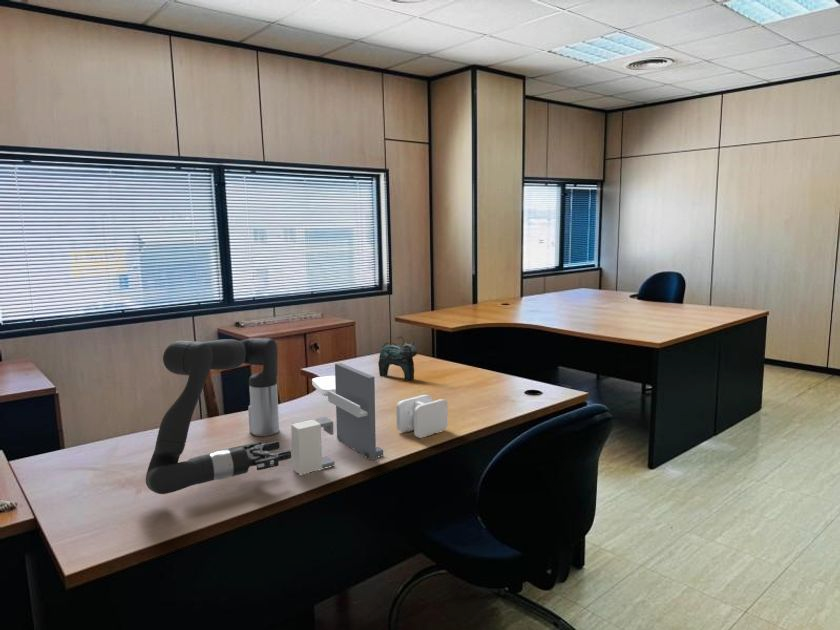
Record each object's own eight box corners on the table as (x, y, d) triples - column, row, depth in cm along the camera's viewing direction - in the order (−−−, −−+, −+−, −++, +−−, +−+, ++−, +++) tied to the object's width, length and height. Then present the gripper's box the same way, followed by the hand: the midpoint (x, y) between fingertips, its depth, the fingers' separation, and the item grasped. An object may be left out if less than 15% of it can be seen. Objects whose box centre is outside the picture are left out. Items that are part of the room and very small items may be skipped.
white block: (293, 469, 169) (291, 424, 167) (326, 460, 175) (325, 416, 173) (300, 475, 165) (298, 429, 163) (334, 466, 171) (333, 421, 169)
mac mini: (310, 383, 262) (310, 378, 261) (356, 378, 271) (356, 372, 270) (323, 396, 242) (323, 390, 242) (372, 390, 251) (372, 384, 251)
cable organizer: (415, 441, 190) (415, 408, 189) (395, 433, 198) (395, 400, 196) (448, 431, 200) (448, 399, 198) (427, 423, 208) (427, 392, 206)
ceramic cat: (418, 379, 267) (418, 337, 264) (410, 382, 262) (410, 339, 258) (383, 373, 277) (383, 333, 274) (375, 376, 272) (375, 335, 269)
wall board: (328, 440, 191) (325, 365, 187) (350, 435, 196) (348, 361, 192) (360, 462, 173) (359, 379, 169) (384, 456, 178) (382, 375, 174)
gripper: (235, 458, 148) (294, 444, 157) (219, 441, 160) (274, 429, 169) (236, 485, 149) (295, 470, 159) (220, 467, 161) (276, 453, 170)
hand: (284, 449), depth 164 cm, fingers open, 8 cm apart
